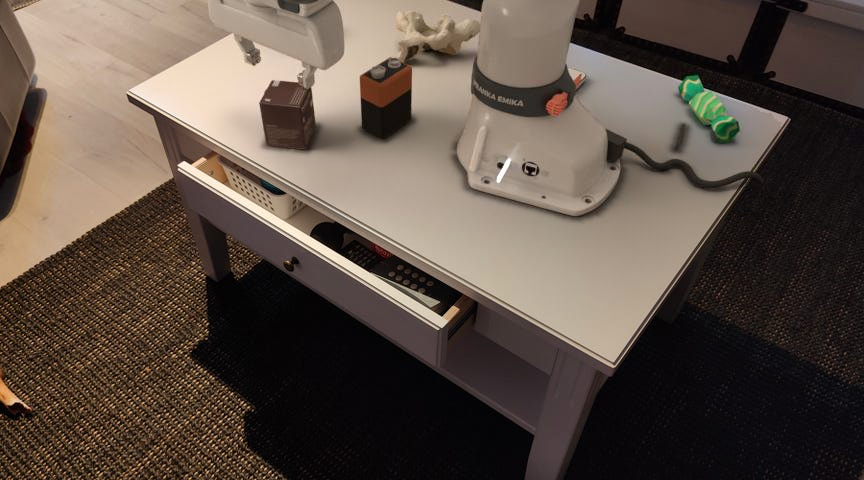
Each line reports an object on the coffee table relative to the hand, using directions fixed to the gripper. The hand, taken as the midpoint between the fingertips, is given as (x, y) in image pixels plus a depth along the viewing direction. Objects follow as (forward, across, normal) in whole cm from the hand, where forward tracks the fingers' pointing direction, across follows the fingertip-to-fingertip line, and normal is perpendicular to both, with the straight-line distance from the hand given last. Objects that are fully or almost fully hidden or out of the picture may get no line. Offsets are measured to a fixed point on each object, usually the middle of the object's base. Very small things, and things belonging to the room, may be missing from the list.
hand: (279, 73), depth 96 cm
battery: (+10, +11, +10) cm, 18 cm away
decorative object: (+10, +5, +30) cm, 32 cm away
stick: (+8, +47, +30) cm, 57 cm away
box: (+10, +1, 0) cm, 11 cm away
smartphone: (+10, +23, +34) cm, 42 cm away
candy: (+8, +47, +36) cm, 60 cm away
